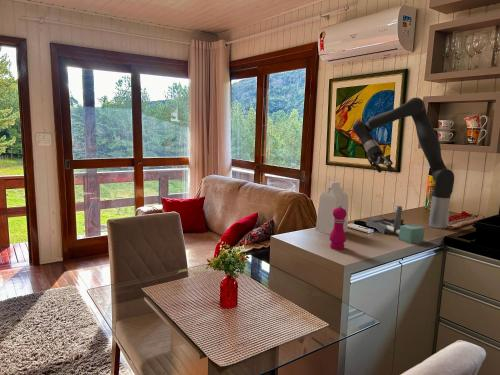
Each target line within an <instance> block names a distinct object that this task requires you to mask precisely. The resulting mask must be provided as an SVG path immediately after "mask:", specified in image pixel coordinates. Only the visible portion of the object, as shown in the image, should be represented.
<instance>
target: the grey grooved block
mask: <svg viewBox="0 0 500 375" xmlns="http://www.w3.org/2000/svg"><path fill="white" fill-rule="evenodd" d="M379 217H380V216H375V217H367V218H366V223H365V224H366V225H367V226H369V227H373V228H376V229H377V230H378V231H379V233H380V234H383V235H386V234H391V233H393V232H391V231H388V230H387V227H388V226H392V227H394V224H392V223H389V222H386V221H385V219H386V218H385V219H382V218H383V217H381V218H379ZM366 225H365V226H366ZM387 225H388V226H387ZM378 231H377V232H378ZM393 234H394V233H393Z"/></svg>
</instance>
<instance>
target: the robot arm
mask: <svg viewBox="0 0 500 375" xmlns="http://www.w3.org/2000/svg"><path fill="white" fill-rule="evenodd" d="M407 117H408V118H409V117H411V118H412V120H413V123H414V126H415V129H416V135H417V136H416V137H417V139H418V140H417V141H418V142H419V146H420V147H421V149H422V153H423V154H424V157H425V158H426V160H427V162H428V165H429V169H430V172H431V176H432V179H433V181H434V182H435V184H434V189H433V191H432V194H431V202H430V210H429V211H430V212H429V219H428V226H429V227H431V228H434V229H447V228H448V227H447V226H449V219H450V204H451V197H452V193H453V191H454V184H455V174H454V172H453V171H452V170H451V169H449V168H447V166H446V164H445V161H444V160H443V157H442V149H441V143H440V140H439V137H438V135H437V133H436V131H435V128H434V126H433V125H432V123H431V121H430V119H429V116H428V114H427V109H426V104H425V102H424V100H423V99H422V98H420V97H412V98H410V99H409V100H408V101H406V102H405V103H403V104H402V105H400V106H397V107H396V108H393V109H391V110H388V111H385V112H382V113H379V114H377V115H374V116H372V117H370V118H369V119H368V122H366V123H365V122H363V121H362V120H356V121H355V122H353V124H352V130H353V132H354V133H355V135H356V136H357V137H358V139H359V140H360V142H361V144H362V146H363V148H364V150H365V152H366V153H367V155H368V158H367V161H368V163H369V165H370V166H371V167H372V168H375V169H376V171H377V173H379V174H380V173H382V171H383V170H382V167H381V166H382V165H383V166H385V167H387V168H386V169H387V170H388V171H389V173H393V172H394V168H393V166H392V165H394V162H393V161H392V160H391V158H390V156H389V155H386V156H385V155H384V153H383V150H382V148H381V147H380V144H378V142H377V141H376V140H375V138H374V137H373V135H372V134H371V132H372V131H374V130H375V129H379V128H382V127H384V126H386V125H388V124H391V123H393V122H395V121H398V120H400V119H404V118H407ZM380 165H381V166H380Z"/></svg>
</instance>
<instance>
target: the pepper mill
mask: <svg viewBox="0 0 500 375" xmlns="http://www.w3.org/2000/svg"><path fill="white" fill-rule="evenodd" d="M333 216H334V218H333V219H334V220H333V221H334V228H333V230H332V232H331V234H329V241H330V243H329V244H330V245H329V248H330V249H333V250H335V249H336V250H335V251H342V250H344V249H345V242H346V241H347V236H346V232H344V229H343V224H344V222H345V219H344V218H345V217H346V210H345V209H343V208H342V205H341V204H339V205H338V208H335V209H334V210H333Z"/></svg>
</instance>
